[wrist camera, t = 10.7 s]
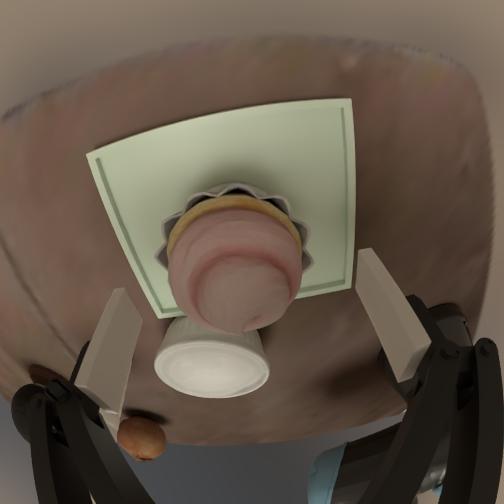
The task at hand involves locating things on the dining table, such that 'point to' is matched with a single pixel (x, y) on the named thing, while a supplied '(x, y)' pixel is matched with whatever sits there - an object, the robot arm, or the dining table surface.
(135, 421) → the onion
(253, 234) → the cupcake
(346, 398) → the dining table surface
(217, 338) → the ramekin
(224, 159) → the tray
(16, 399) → the black ball on stand
